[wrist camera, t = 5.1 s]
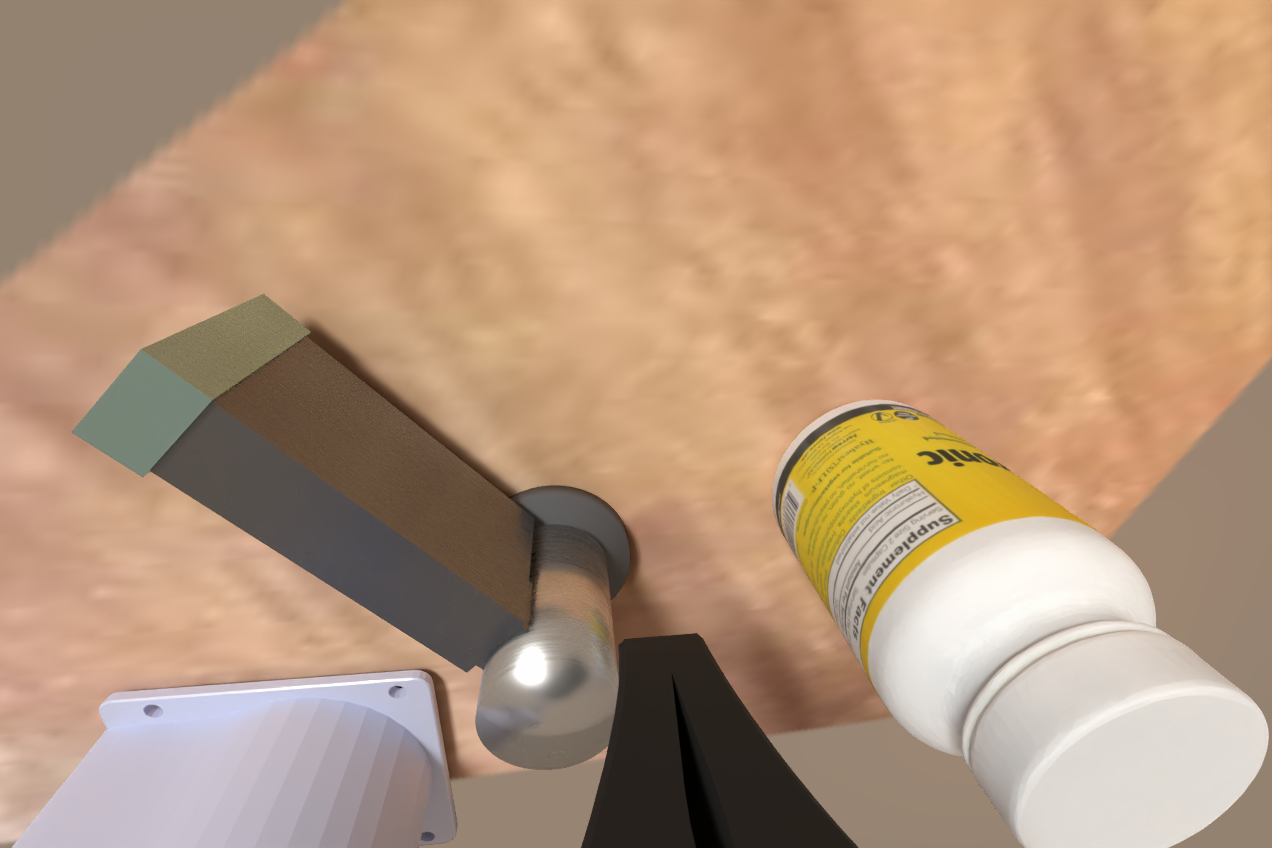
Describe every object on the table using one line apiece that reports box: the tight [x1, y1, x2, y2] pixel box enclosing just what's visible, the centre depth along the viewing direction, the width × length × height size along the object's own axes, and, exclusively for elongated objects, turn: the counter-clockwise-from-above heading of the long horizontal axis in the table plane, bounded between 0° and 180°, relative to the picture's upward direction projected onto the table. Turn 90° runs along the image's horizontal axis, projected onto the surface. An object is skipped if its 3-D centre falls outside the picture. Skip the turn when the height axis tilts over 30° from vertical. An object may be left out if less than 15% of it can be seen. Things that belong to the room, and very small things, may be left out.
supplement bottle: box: [772, 400, 1269, 848], centre depth 13 cm, size 5×5×10 cm
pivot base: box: [510, 486, 630, 600], centre depth 18 cm, size 4×4×1 cm
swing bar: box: [72, 294, 619, 770], centre depth 13 cm, size 11×3×5 cm, turn 43°
